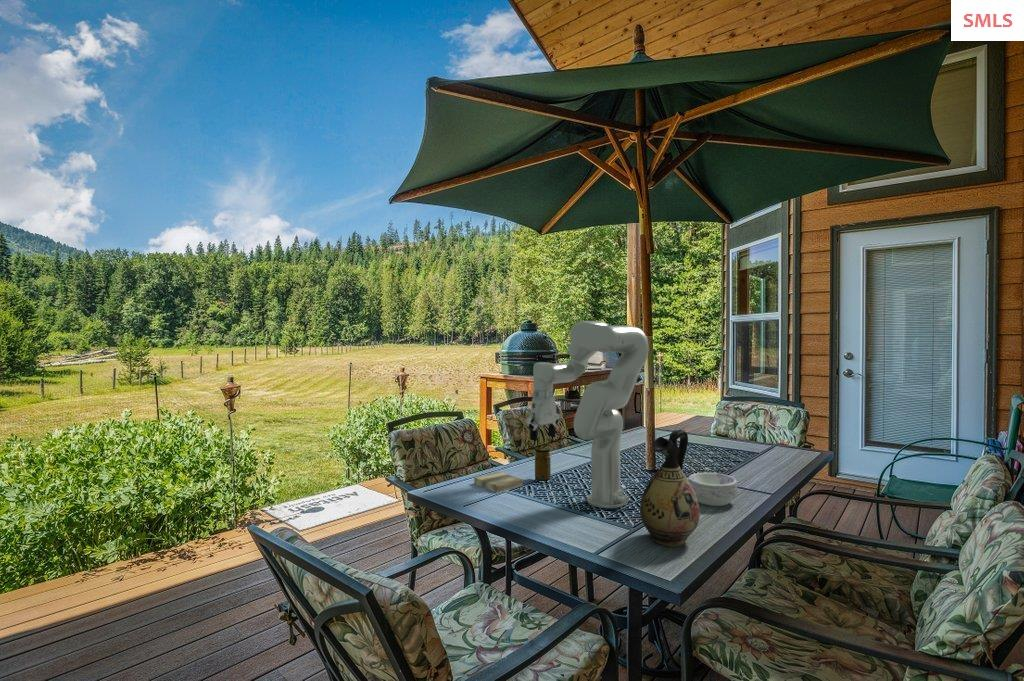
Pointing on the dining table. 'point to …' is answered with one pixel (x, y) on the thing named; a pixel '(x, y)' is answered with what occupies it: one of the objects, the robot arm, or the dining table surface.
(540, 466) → the condiment
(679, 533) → the ceramic jug
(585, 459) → the dining table surface
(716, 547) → the dining table surface
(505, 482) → the board
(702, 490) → the white marble bowl
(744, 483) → the dining table surface
